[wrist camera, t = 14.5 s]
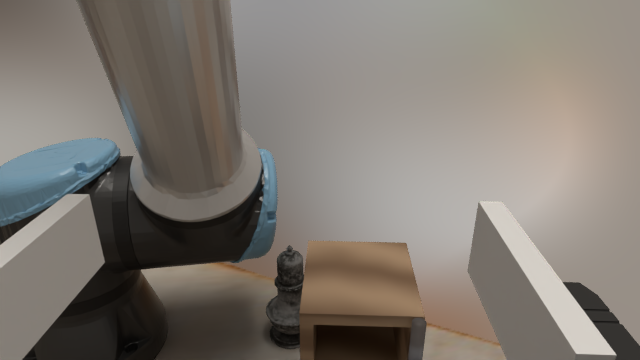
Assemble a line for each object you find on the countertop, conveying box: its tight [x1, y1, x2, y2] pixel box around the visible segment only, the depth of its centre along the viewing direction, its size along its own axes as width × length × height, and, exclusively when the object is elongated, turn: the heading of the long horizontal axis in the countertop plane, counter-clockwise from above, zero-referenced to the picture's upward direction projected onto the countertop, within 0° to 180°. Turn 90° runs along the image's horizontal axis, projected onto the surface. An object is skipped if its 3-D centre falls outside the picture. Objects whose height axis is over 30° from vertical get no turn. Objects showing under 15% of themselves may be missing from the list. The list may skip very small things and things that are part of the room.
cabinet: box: [299, 241, 426, 360], centre depth 39 cm, size 11×9×16 cm
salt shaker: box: [266, 245, 304, 349], centre depth 51 cm, size 6×6×12 cm
